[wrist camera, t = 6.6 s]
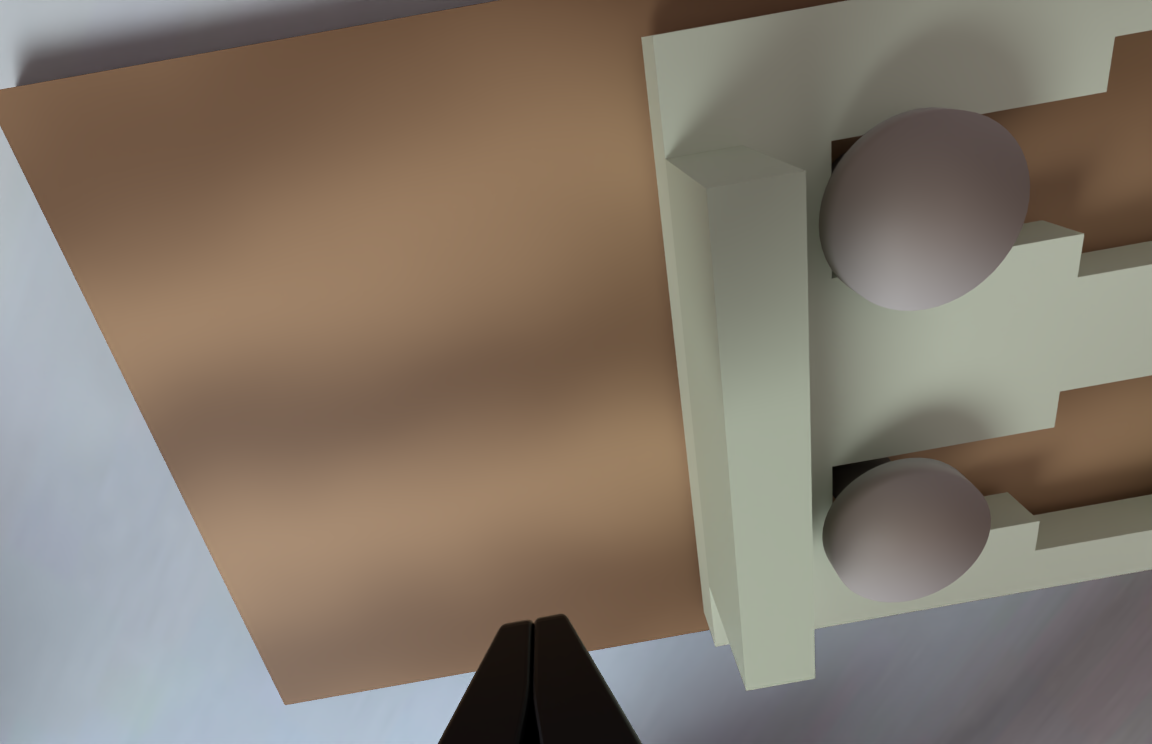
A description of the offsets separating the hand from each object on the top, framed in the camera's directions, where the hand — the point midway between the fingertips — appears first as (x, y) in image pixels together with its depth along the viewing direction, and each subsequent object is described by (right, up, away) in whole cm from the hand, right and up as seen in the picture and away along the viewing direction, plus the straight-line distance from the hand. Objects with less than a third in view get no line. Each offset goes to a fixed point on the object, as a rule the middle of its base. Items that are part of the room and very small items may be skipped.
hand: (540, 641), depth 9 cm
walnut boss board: (+4, +4, +8) cm, 9 cm away
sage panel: (+10, +5, +7) cm, 13 cm away
